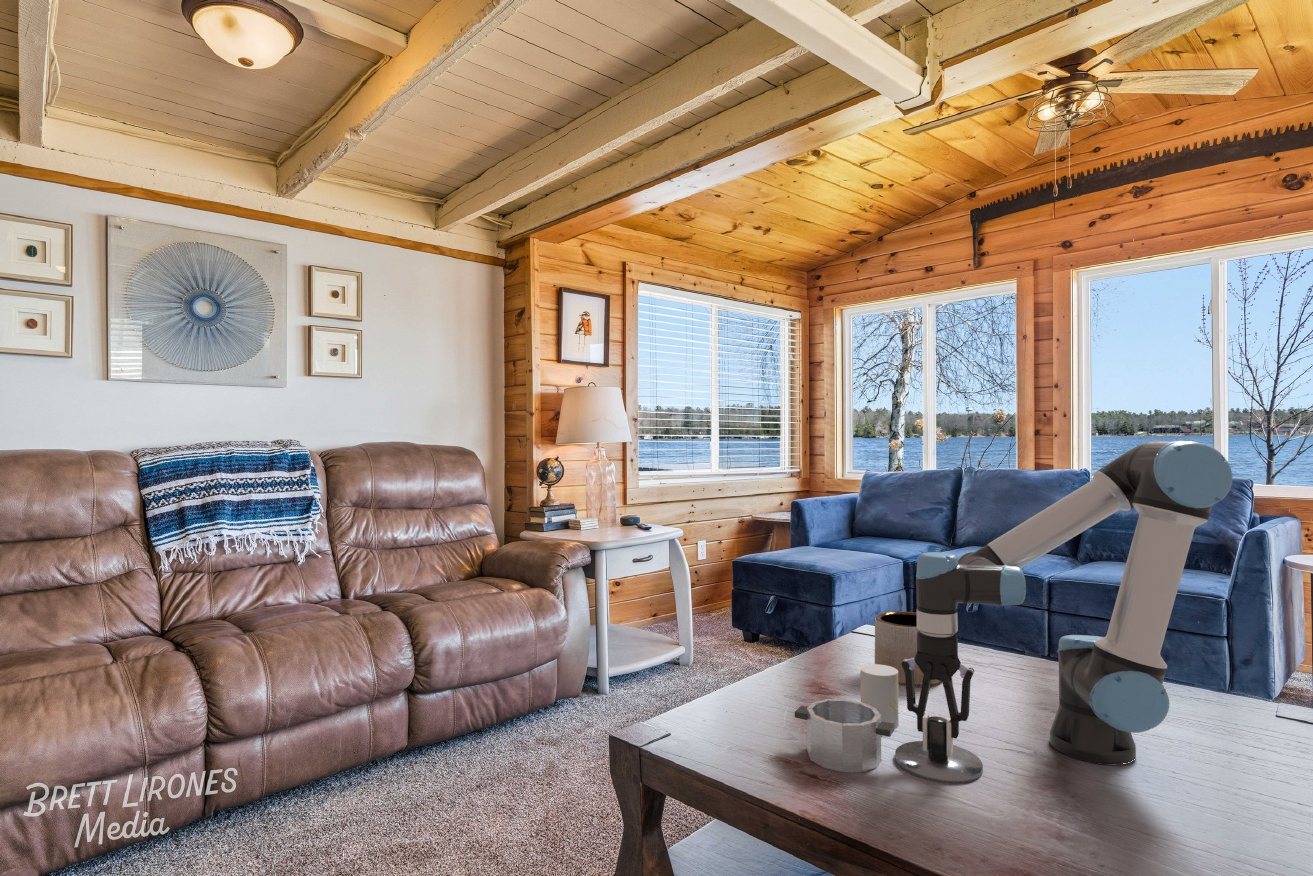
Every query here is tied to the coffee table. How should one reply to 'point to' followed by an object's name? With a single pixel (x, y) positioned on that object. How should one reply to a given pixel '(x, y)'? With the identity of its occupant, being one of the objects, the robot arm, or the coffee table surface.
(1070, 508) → the robot arm
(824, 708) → the pot
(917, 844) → the coffee table surface
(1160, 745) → the coffee table surface
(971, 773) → the lid
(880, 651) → the planter
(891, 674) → the beige cylinder
